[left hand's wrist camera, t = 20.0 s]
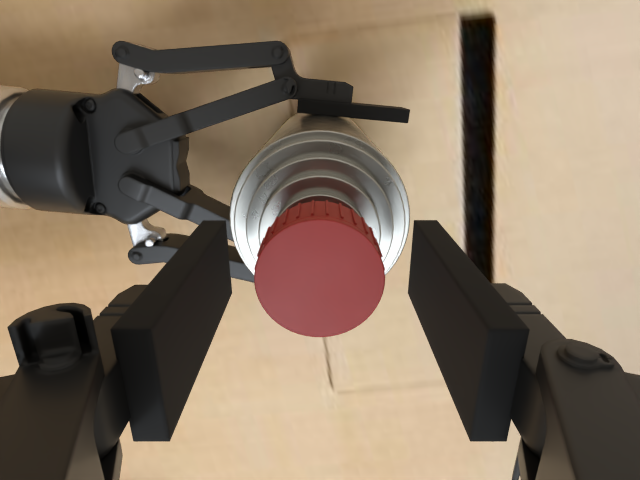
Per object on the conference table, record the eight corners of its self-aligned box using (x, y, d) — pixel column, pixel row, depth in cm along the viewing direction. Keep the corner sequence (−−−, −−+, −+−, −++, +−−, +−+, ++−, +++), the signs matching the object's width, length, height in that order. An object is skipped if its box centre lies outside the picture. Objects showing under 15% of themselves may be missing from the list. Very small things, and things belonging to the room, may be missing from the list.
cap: (293, 322, 15) (290, 356, 13) (239, 229, 14) (227, 252, 12) (395, 280, 15) (406, 309, 13) (349, 178, 13) (353, 194, 12)
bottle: (374, 112, 32) (466, 163, 12) (361, 208, 35) (418, 381, 15) (274, 102, 32) (195, 135, 12) (268, 200, 34) (197, 364, 14)
